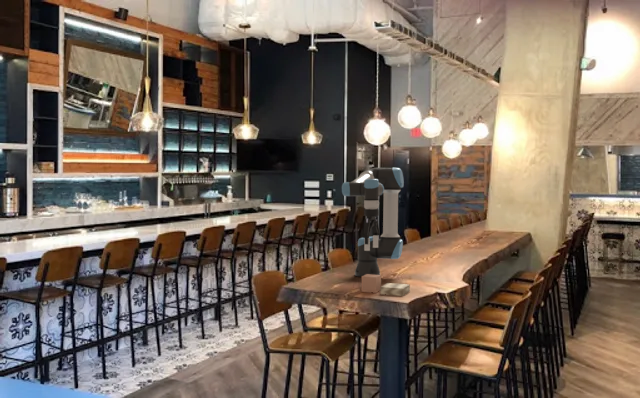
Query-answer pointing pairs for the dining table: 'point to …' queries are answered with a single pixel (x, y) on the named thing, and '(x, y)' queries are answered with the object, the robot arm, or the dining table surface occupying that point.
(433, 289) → the dining table surface
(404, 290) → the mottled grey-green square block
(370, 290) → the terracotta cube
